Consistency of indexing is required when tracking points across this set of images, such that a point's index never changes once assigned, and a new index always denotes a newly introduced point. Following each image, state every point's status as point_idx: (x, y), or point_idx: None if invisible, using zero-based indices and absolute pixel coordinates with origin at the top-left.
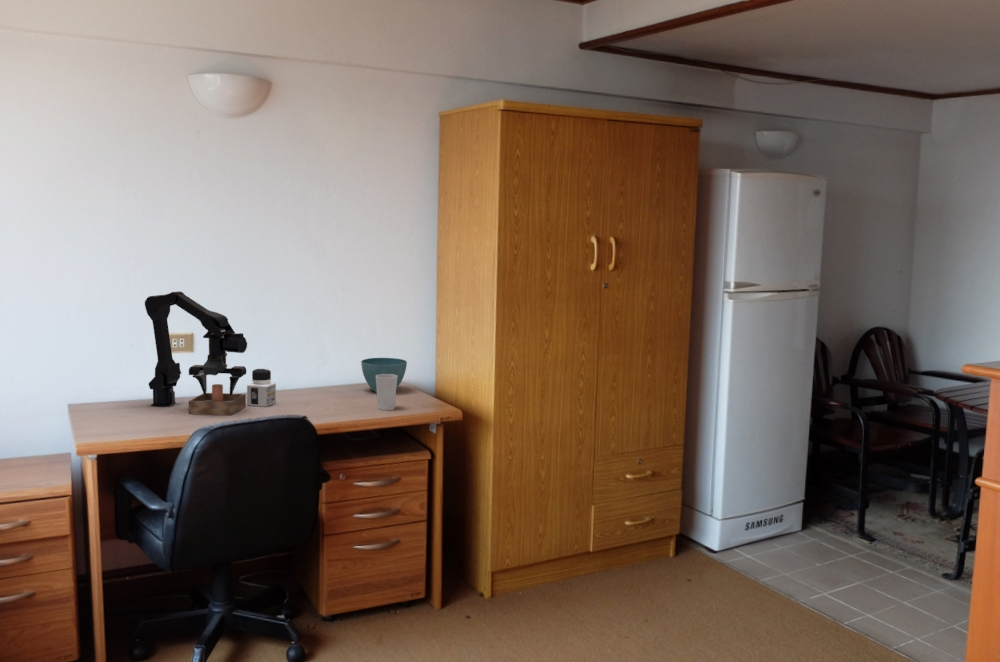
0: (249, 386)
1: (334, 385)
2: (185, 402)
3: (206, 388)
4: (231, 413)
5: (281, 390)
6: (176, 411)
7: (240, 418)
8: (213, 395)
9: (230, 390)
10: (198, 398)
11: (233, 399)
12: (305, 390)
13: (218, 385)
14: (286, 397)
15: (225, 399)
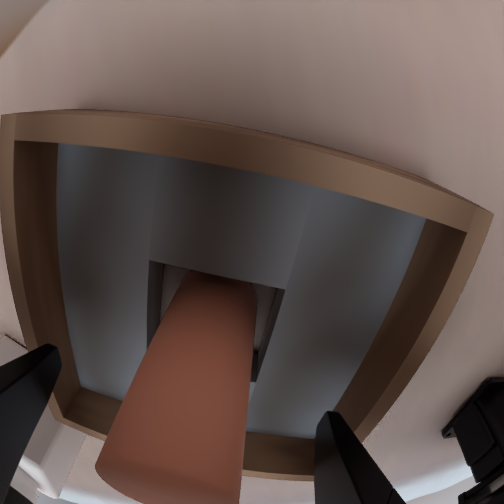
0: (27, 454)
1: None
2: (400, 446)
3: (315, 479)
4: (68, 109)
5: (102, 495)
6: (486, 276)
7: (26, 33)
8: (224, 369)
9: (19, 369)
10: (381, 383)
11: None
12: None
13: (137, 478)
14: None
15: None
